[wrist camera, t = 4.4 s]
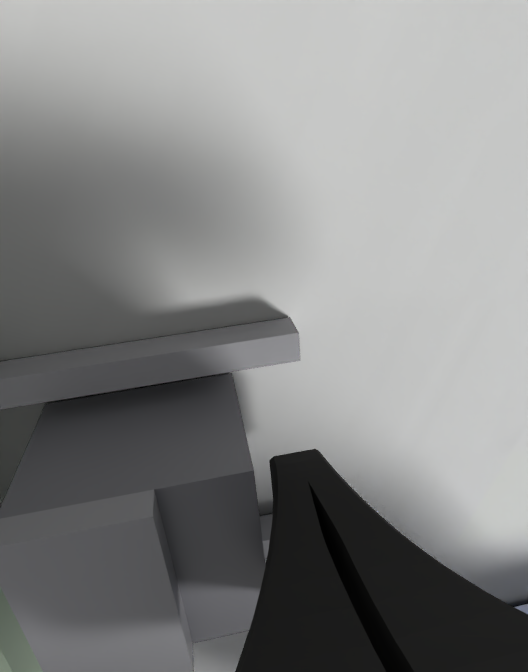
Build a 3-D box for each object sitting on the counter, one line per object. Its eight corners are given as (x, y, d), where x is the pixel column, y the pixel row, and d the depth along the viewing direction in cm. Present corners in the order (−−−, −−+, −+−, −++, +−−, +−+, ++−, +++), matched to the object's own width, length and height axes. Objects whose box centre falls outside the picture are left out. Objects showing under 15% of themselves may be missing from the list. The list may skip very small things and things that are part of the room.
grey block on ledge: (231, 373, 13) (259, 495, 9) (249, 505, 15) (278, 653, 11) (45, 403, 13) (-19, 549, 8) (91, 536, 15) (59, 705, 11)
